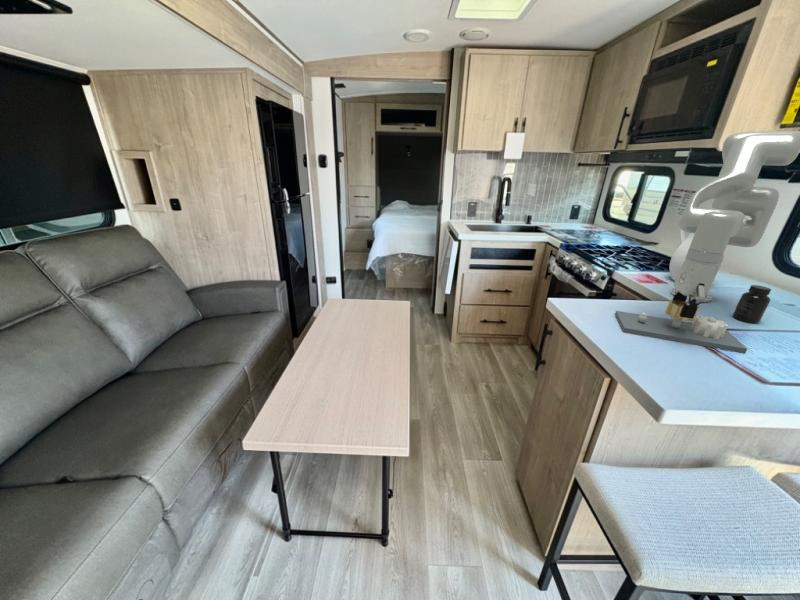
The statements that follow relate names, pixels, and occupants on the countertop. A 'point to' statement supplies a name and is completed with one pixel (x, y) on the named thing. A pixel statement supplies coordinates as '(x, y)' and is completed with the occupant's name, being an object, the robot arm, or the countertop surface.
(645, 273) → the countertop surface
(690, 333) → the gear board
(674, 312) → the brass gear
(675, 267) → the pitcher
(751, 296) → the supplement bottle
